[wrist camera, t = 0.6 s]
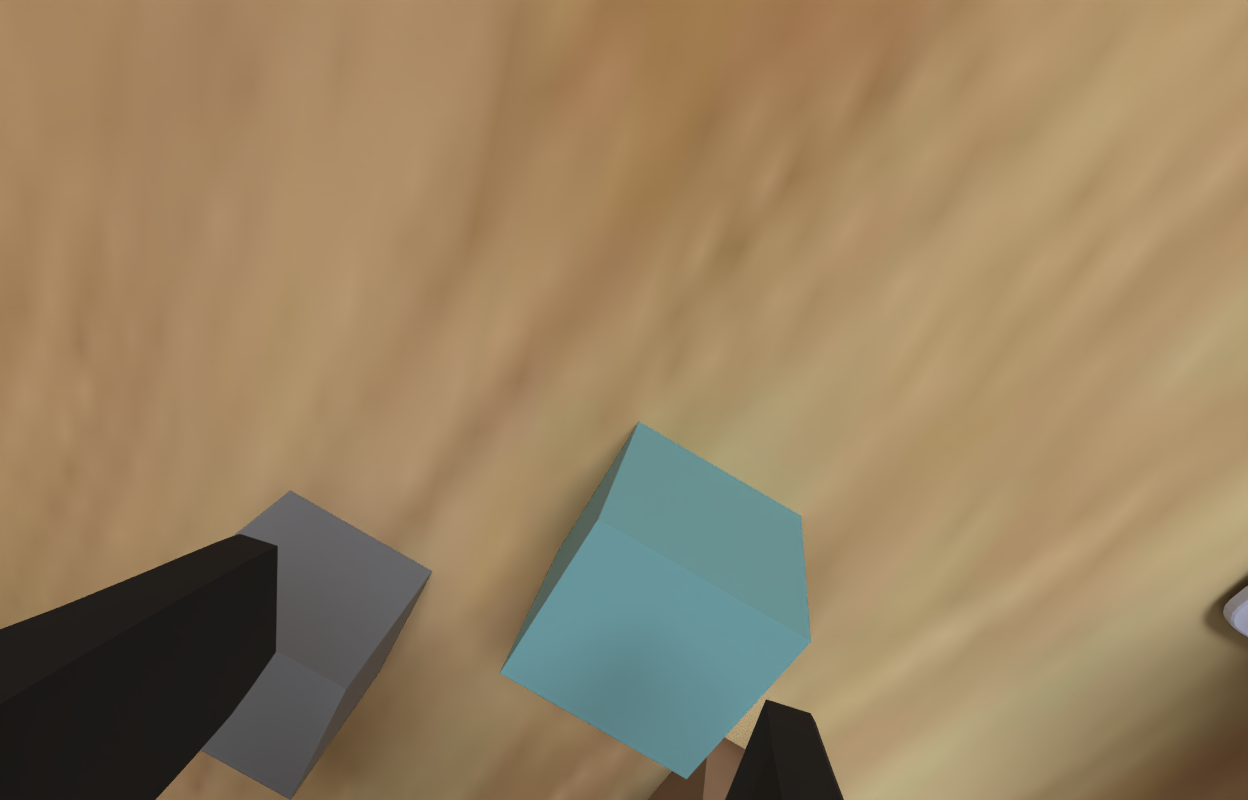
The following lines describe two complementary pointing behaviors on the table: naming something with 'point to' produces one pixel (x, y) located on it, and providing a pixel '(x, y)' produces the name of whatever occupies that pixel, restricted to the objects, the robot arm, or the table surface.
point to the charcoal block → (316, 640)
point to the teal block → (667, 605)
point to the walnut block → (704, 776)
